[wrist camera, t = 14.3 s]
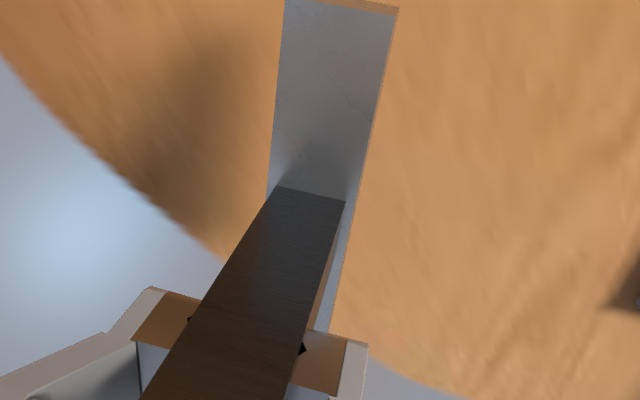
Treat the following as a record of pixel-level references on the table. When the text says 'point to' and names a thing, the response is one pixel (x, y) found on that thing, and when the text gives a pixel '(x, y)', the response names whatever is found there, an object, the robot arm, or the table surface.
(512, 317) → the table surface
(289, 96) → the upside-down t block
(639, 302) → the slate tile
